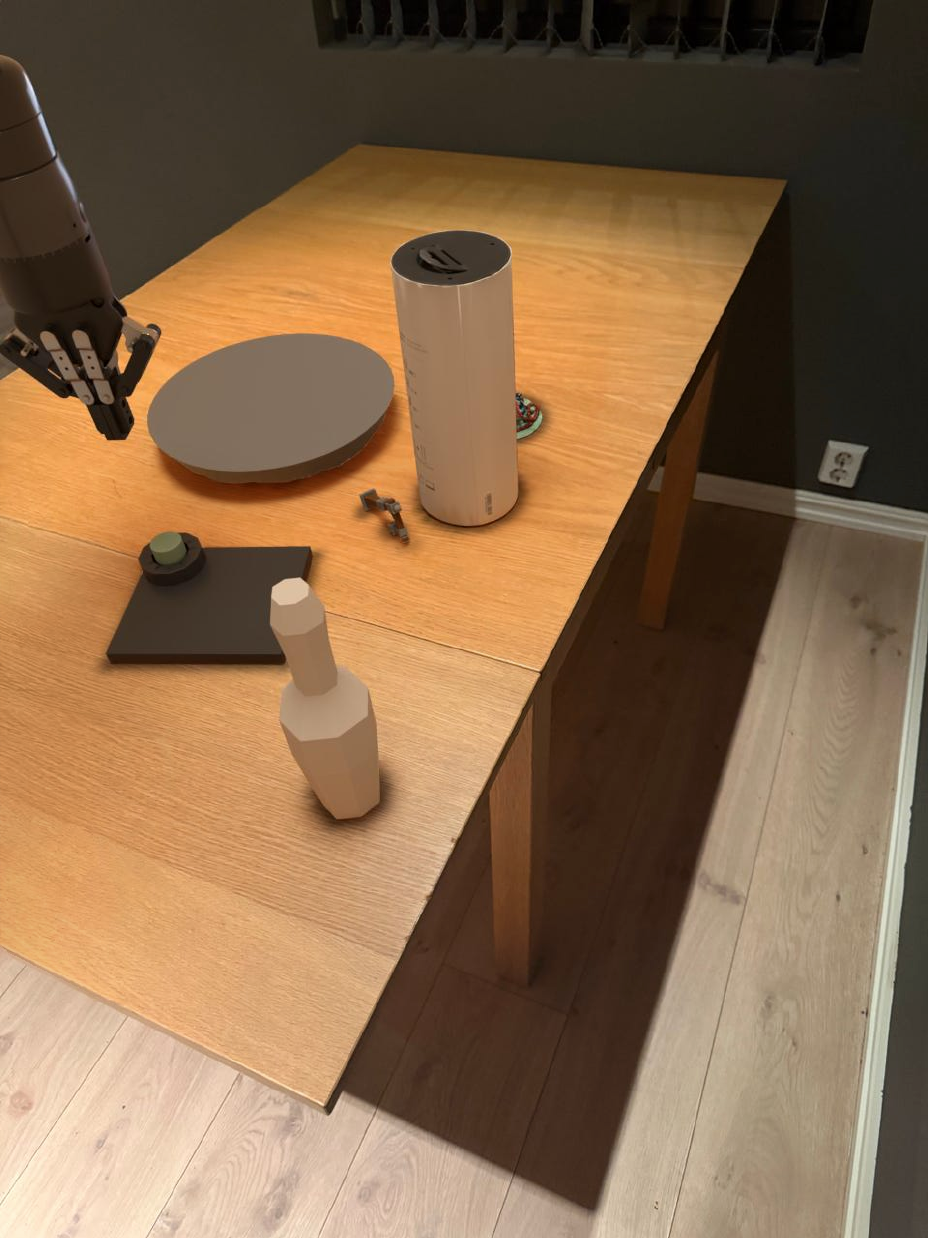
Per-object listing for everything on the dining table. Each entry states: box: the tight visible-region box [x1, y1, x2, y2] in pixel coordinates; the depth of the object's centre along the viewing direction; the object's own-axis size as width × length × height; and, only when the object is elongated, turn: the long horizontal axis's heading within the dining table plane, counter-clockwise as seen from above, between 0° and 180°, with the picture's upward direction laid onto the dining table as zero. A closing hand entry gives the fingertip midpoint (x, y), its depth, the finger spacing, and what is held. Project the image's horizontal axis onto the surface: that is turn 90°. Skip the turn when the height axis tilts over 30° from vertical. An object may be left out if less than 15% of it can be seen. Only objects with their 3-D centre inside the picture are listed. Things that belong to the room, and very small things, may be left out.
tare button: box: [149, 530, 187, 565], centre depth 84 cm, size 3×3×2 cm
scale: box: [105, 531, 314, 665], centre depth 82 cm, size 16×14×3 cm
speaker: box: [389, 229, 519, 527], centre depth 83 cm, size 11×10×26 cm
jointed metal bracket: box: [358, 487, 410, 543], centre depth 89 cm, size 2×8×4 cm, turn 32°
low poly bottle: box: [270, 578, 381, 820], centre depth 60 cm, size 6×6×22 cm
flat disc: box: [146, 332, 395, 485], centre depth 101 cm, size 28×28×4 cm
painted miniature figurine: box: [516, 392, 543, 440], centre depth 101 cm, size 8×7×8 cm
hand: (120, 434), depth 75 cm, fingers closed
